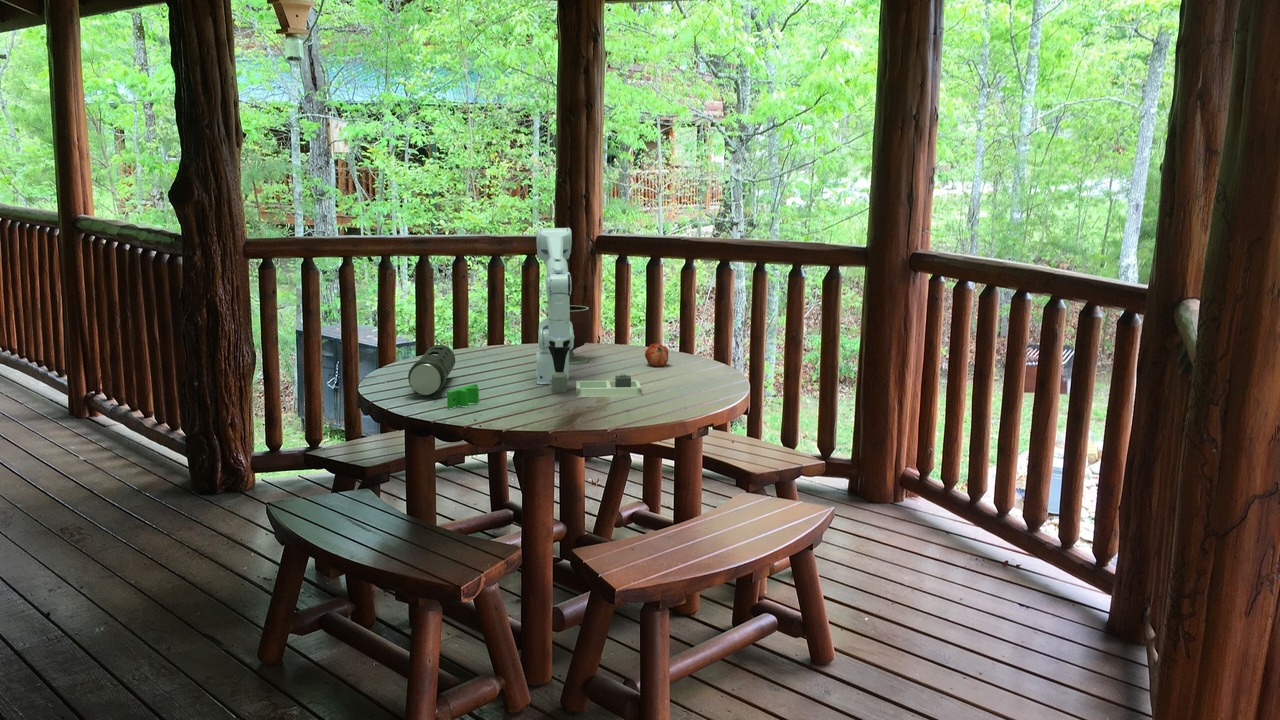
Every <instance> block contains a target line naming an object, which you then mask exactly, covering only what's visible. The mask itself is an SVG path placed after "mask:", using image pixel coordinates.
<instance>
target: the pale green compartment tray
mask: <svg viewBox="0 0 1280 720" xmlns="http://www.w3.org/2000/svg"><path fill="white" fill-rule="evenodd" d="M575 391H576V397H577V398H592V397H595V398H596V397H598V398H599V397H600V398H603V397H605V398H606V397H642V387H641V383H640V380H638V379H634V380H632V379H631V387H624V388H615V380H576V381H575Z"/></svg>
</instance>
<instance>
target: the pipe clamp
mask: <svg viewBox="0 0 1280 720" xmlns="http://www.w3.org/2000/svg"><path fill="white" fill-rule="evenodd" d="M446 399H447V401H446V402H447V403H446V404H447V409H448V408H453V407H455V406H458V405H460V406H468V407H469V405H468V403H476V404H475V405H478V404H477V403H479V404H480V391H479V387H478V384H476V383H472V384H469V385H467V386H462V387H460V388H456V389H453V390H449V391H447V392H446Z"/></svg>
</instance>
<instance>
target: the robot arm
mask: <svg viewBox="0 0 1280 720" xmlns="http://www.w3.org/2000/svg"><path fill="white" fill-rule="evenodd" d="M572 238H573V237H572V229H571V228H570V227H538V228H537V229H536V250H537V251H536V252H537V253H536V254H537V257H538V259H539V260H541V261H543V262H544V266H545V269H546V276H545V292H546V298H547V300H546V301H548V304H547V313H548V317H547V316H546V317H545V318H544V319H542V320H541V321H540V322H539V324H538V349H539V351H536V370H535V378H536V385H550V381H552V375H553V372H565V375H567V380H569V379H570V365H569V349H570V350H572V348H573V346H574V334H573V325H572V323H571V322H570V305H571V304H570V298H571V294H572V276H571V273H570V272H569V265H568V261H567V260H568V259H570V255H571V253H572V245H573V244H572V241H573V240H572Z"/></svg>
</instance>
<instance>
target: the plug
mask: <svg viewBox="0 0 1280 720" xmlns="http://www.w3.org/2000/svg"><path fill="white" fill-rule="evenodd" d="M614 377H615V379H614V381H615V388H624V387H631V380H632V377H631V375H630V374H629V375H627V374H626V373H620V375H615V376H614Z"/></svg>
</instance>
